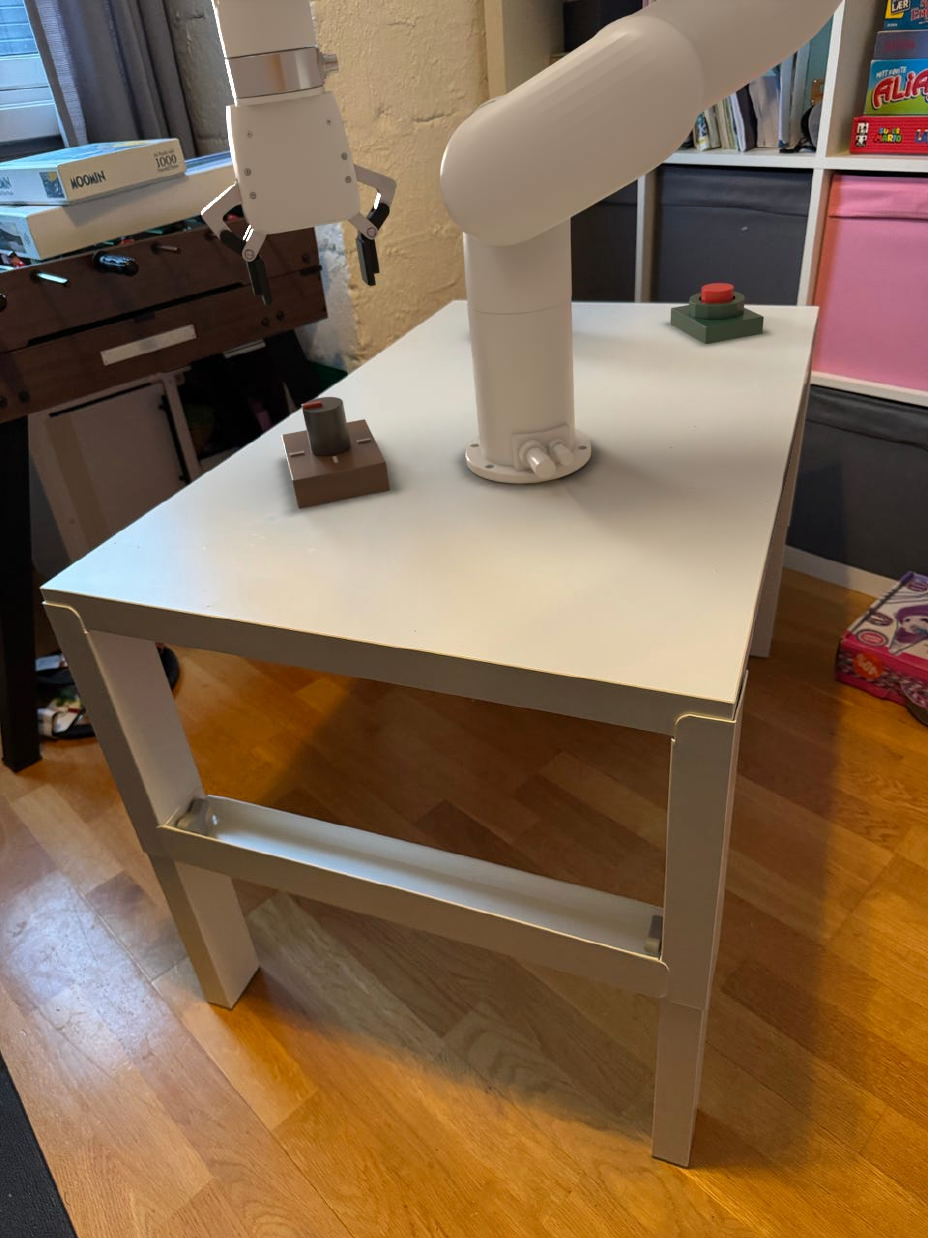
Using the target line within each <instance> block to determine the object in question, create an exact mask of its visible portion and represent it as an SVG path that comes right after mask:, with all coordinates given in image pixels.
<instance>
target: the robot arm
mask: <svg viewBox="0 0 928 1238" xmlns="http://www.w3.org/2000/svg"><path fill="white" fill-rule="evenodd" d="M843 1H844V0H655V1H653V2H651V3H650V4H648V5H646V6H644V7H643V8H641V9H639V10H638V11H636V12H634V13H632V14H629V15H626V16H623V17H621V18H618V19H616V20H615V21H612V22H610V23H609V24H607V25H606V26H604V27H603V28H601V29H600V30H599V31H598V32H596V34H595V35H593V37H592V38H590V39H589V40H587V41H586V42H585V43H583V44H581V45H579V46H578V47H577V48H574V49H573V50H572V51H571V52H569V53H568V54H566V55H564V56H563V57H562V58H560V59H559V60H556V61H555V62H554V63H552V64H551V65H549V66H547V67H546V68H544V69H543V70H542V71H540V72H538V73H537V74H535V75H534V76H532V77H531V78H529V79H528V80H526V81H524V82H523V83H521V84H520V85H518V86H517V87H515V88H514V89H512V90H511V91H509V92H507V93H506V94H502V95H498V96H494V97H493V98H490V99H489V100H486V101H485V102H483V103H481V104H480V105H479V106H478V107H477V108H476V109H474V110H473V111H472V112H471V113H470V114H469V115H468V116H467V117H466V118H464V121H462V123H460V125H459V126H458V127H457V128H456V129H455V131H454V132H453V133H452V135H451V137H450V138H449V141H448V142H447V144H446V147H445V149H444V152H443V155H442V158H441V161H440V162H441V163H440V169H439V170H440V171H439V187H440V188H439V189H440V195H441V199H442V203H443V205H444V208H445V210H446V212H447V214H448V216H449V218H450V219H451V220H452V222H453V223H454V224H455V225H456V227H457V228H458V229H459V230H460V231H461V232H462V252H463V266H464V268H463V270H464V282H465V291H466V307H467V308H466V309H467V318H468V330H469V341H470V352H471V362H472V374H473V382H474V383H473V385H474V395H475V406H476V407H475V408H476V415H477V416H476V417H477V428H478V436H476V437H474V439H473V440H471V441H470V442H469V444H468V445H467V446H466V448H465V452H464V454H465V463H466V465H467V468H468V469H469V470H470V471H471V472H472V473H474V475H475V474H476V475H477V476H479V477H481V478H484V479H486V480H490V481H494V482H497V483H506V484H535V483H542V482H549V481H552V480H556V479H560V478H563V477H565V476H568V475H571V474H572V473H574V472H577V471H578V470H580V469H581V468H582V467H584V466H585V465H586V464H587V463H588V462H589V460H590V458H591V456H592V443H591V440H590V438H589V436H588V435H586V434H585V433H584V432H583V431H581V430H579V429H577V428H576V425H575V423H576V422H575V421H576V420H575V419H576V418H575V417H576V416H575V386H574V385H575V383H574V345H573V344H574V343H573V341H574V339H573V306H572V305H573V304H572V297H573V283H572V282H573V281H572V279H573V278H572V243H571V242H572V241H571V239H572V238H571V237H572V234H571V230H572V229H571V218H572V217H574V216H576V215H577V214H579V213H581V212H583V211H585V210H587V209H588V208H590V207H592V206H593V205H595V204H597V203H598V202H600V201H602V200H604V199H606V198H607V197H610V196H611V195H613V194H614V193H616V192H619V191H620V190H621V189H623V188H625V187H626V186H629V185H630V184H632V183H634V182H635V181H637V180H639V179H640V178H642V177H644V176H645V175H647V174H649V173H650V172H652V171H653V170H655V169H656V168H657V167H659V166H660V165H661V164H663V163H664V162H665V161H667V160H668V159H669V158H670V157H672V155H673V154H674V153H676V152H677V151H678V149H679V148H681V146H682V145H683V144H684V143H685V142H686V140H687V139H688V137H689V135H690V134H691V133H692V130H693V129H694V126H695V124H696V122H697V120H698V118H699V115H701V114H702V113H704V112H705V111H707V110H708V109H710V108H712V107H713V106H715V105H716V104H719V103H720V102H722V101H723V100H725V99H727V98H728V97H730V96H732V95H733V94H735V93H736V92H738V91H739V90H741V89H743V88H744V87H745V86H747V85H748V84H751V82H753V81H754V80H757V79H758V78H760V77H761V76H763V75H764V74H766V73H768V72H769V71H771V70H772V69H773V68H775V67H777V66H778V65H780V64H782V62H784V61H786V60H787V59H789V58H791V56H793V55H794V54H795V53H797V52H798V51H799V50H801V49H802V48H803V47H805V45H806V44H807V43H809V42H810V41H811V40H812V39H813V38H814V37H815V36H816V35H818V33H819V32H820V31H821V30H822V29H823V28H824V27H825V26H826V24H828V22H829V20H830V19H831V18H832V17H833V16H834V14H835V13H836V11H837V10H838V9H839V7H840V5H841V4H842V2H843ZM211 2H212V7H213V11H214V17H215V22H216V26H217V30H218V35H219V39H220V43H221V48H222V51H223V52H222V53H223V57H224V61H225V65H226V70H227V74H228V79H229V83H230V87H231V93H232V97H233V102H234V104H228V105H226V126H227V135H228V143H229V148H230V155H231V161H232V166H233V167H232V168H233V173H234V176H235V182H234V183H232V184H231V185H230V186H229V187H228V188H227V189H225V190H224V191H223V192H222V193H220V194H219V196H218V197H216V198H215V199H214V200H213V201H211V202H210V203H209V204H208V205H206V207H204V208H203V209H202V211H201V218H202V220H203V221H204V222H205V224H206V225H207V226H208V227H209V229H210V230H211V231H212V232H213V233H214V235H215V236H216V237H217V238H218V239H219V241H220V242H221V244H223V246H225V247H226V248H228V249H230V250H231V251H232V252H234V253H235V254H236V255H238V256H240V257H241V258H242V259H243V260H244V261H245V262H246V268H247V272H248V275H249V279H250V284H251V288H252V291H253V295H254V297H261V298H262V302H263V304H264V305H265V307H270V306H272V304H274V300H273V295H272V291H271V288H270V287H271V286H270V282H269V278H268V274H267V270H266V266H265V261H264V259H263V257H262V255H260V249H261V247H262V245H263V243H264V242H265V239H266V237H267V236H268V235H273V234H274V235H275V234H281V233H286V232H293V231H299V230H303V229H310V228H315V227H321V226H325V225H332V224H336V223H342V222H345V221H347V222H349V223H350V225H352V226H353V227H354V228H355V229H356V232H357V235H356V237H355V239H354V240H355V246H356V252H357V257H358V258H357V259H358V263H359V269H360V275H361V279H362V281H363V282H364V283H365V285H367V286H369V287H374V286H376V285H377V283H376V276H375V275H377V274H380V263H379V258H378V257H379V256H378V252H377V245H376V238H377V237H378V235H379V231H380V229H381V228H382V226H383V225H384V223H385V222H386V220H387V219H388V217H389V216H390V213H391V206H392V204H393V201H394V198H395V194H396V190H397V187H398V185H397V184H398V183H397V180H395V179H394V178H392V177H390V176H386V175H385V174H382V173H380V172H377V171H374V170H371V169H369V168H366V167H364V166H361V165H358V164H356V163H354V162H353V157H352V153H351V149H350V145H349V140H348V137H347V132H346V128H345V125H344V122H343V119H342V116H341V111H340V108H339V106H338V102H337V99H336V97H335V94H334V91H332V90H326V89H325V85H326V80H327V79H328V78H327V77H330V76H331V74H338V73H339V71H340V69H339V68H340V67H339V60H338V57H337V55H336V53H332V54H327V53H326V52H324V53H323V51H320V47H319V46H318V43H317V36H316V30H315V27H314V20H313V13H312V7H311V2H310V0H211ZM358 182H359V183H361V184H364V185H366V186H369V187H371V188H374V189H375V190H376V192H377V194H376V199H375V202H374V204H373V205H372V207H371V208H370V210H369V211H368V213H367V215H366V216H365V215H364V214H363V213H362V212H360V211H361V197H360V189H359V184H358ZM239 203H240V205H241V208H242V209H241V210H242V214H243V217H244V220H245V222H246V224H248V225H249V226H248V228H247V230H246V232H245V235H244V236H243V238H242V237H241V236H240V235H238V234H237V233H235V232H234V231H232V230H231V229H230V228H229V227H228V225H227V224H226V223H225V222H224V216H225V215H227V213H228V212H230V211H231V210H232V209H233V208H234V207H236V205H238V204H239Z"/></svg>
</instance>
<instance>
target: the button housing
mask: <svg viewBox="0 0 928 1238" xmlns="http://www.w3.org/2000/svg"><path fill="white" fill-rule="evenodd" d="M745 300H746V296H745V294H742V293H740V292H738V291H734V292H733V300H732V301H730V302H725V303H706V302H702V301H701V292H697V293H695V294H693V295H691V296H690V297H689V300H688V304H686V305H679V306H675V307H671V308H670V325H671V326H673V327H674V328H677V329H678V330H680V331H682V332H683V333H685V334H686V335H688V336H690V337H692V338H694V339H696V340H697V341H700V342H701V343H703V345H708V344H714V343H719V342H725V341H729V340H735V339H741V338H747V337H751V336H756V335H760V334H761V335H763V329H764V319H765V317H764V316H763V315H762V314H759V313H757V312H755V311H753V310H751V309H748V308H746V307H745V302H746V301H745Z"/></svg>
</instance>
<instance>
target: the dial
mask: <svg viewBox="0 0 928 1238" xmlns="http://www.w3.org/2000/svg"><path fill="white" fill-rule="evenodd" d="M301 410H302V414H303V419H304V424H305V428H306V429H305V430H307V434H308V439H309V444H310V448H311V452H312V453H314V454H316V455H323V456H325V455H334V454H338V453H341V452H343V451H345V450H347V449H348V448H349V447H350V445H351V444H350V438H349V433H348V427H347V416H346V411H345V405H344V401H343V399H341V398H340V397H335V396H322V397H317V398H313V399H311V400H308V401H306V402H305V403H302V404H301Z"/></svg>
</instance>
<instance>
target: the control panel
mask: <svg viewBox="0 0 928 1238" xmlns="http://www.w3.org/2000/svg"><path fill="white" fill-rule="evenodd" d="M347 427H348V433H349V438H350V444H351V445H350V447H349V448H348V449H347V450H345V451H343V452H341V453H338V454H334V455H325V456H323V455H316V454H314V453H312V452H311V448H310V444H309V439H308V434H307V429H304V430H300V431H295V432H290V433H285V434H281V435H280V437H281V441H282V445H283V450H284V454H285V458H286V463H287V467H288V471H289V475H290V479H291V484H292V488H293V491H294V495H295V496H294V497H295V500H296V503H297V508H298V509H299V510H300V509H304V508H310V507H315V506H319V505H324V504H329V503H333V502H339V501H343V500H348V499H352V498H357V497H362V496H368V495H373V494H377V493H382V492H386V491H387V492H388V491H391V487H390V481H389V475H388V474H389V473H388V467H387V462H386V460H385V458H384V456H383V453H382V452H381V449H380V447H379V445H378V444H377V441H376V440H375V439H376V438H375V436H374V435H373V433H372V430H371V429H370V426H369V425H368V423H367V420H366V419H365V418H363V419H358V420H353V421H348V422H347Z"/></svg>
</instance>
